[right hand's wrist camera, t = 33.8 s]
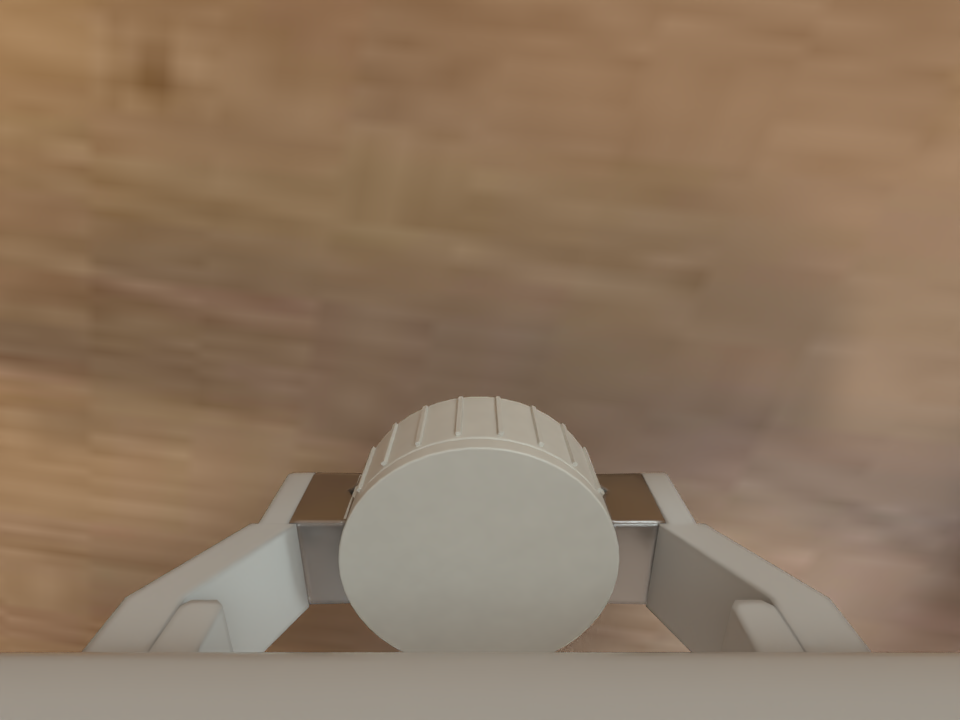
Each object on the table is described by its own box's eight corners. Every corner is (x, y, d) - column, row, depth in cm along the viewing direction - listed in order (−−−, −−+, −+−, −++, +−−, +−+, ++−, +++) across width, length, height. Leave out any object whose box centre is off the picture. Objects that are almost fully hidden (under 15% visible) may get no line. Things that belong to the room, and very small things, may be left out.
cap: (648, 491, 10) (683, 558, 8) (488, 627, 11) (490, 709, 10) (466, 342, 9) (464, 384, 7) (310, 511, 10) (278, 581, 9)
